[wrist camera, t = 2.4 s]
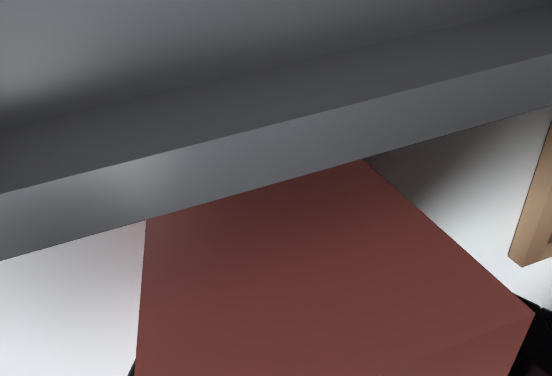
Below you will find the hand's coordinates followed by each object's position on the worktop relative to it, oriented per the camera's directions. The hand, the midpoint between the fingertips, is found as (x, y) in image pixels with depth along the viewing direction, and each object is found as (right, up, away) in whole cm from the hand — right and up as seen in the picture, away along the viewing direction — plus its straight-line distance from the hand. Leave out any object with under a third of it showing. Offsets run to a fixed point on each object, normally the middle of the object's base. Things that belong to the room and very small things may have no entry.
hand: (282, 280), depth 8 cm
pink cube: (0, 0, +1) cm, 1 cm away
